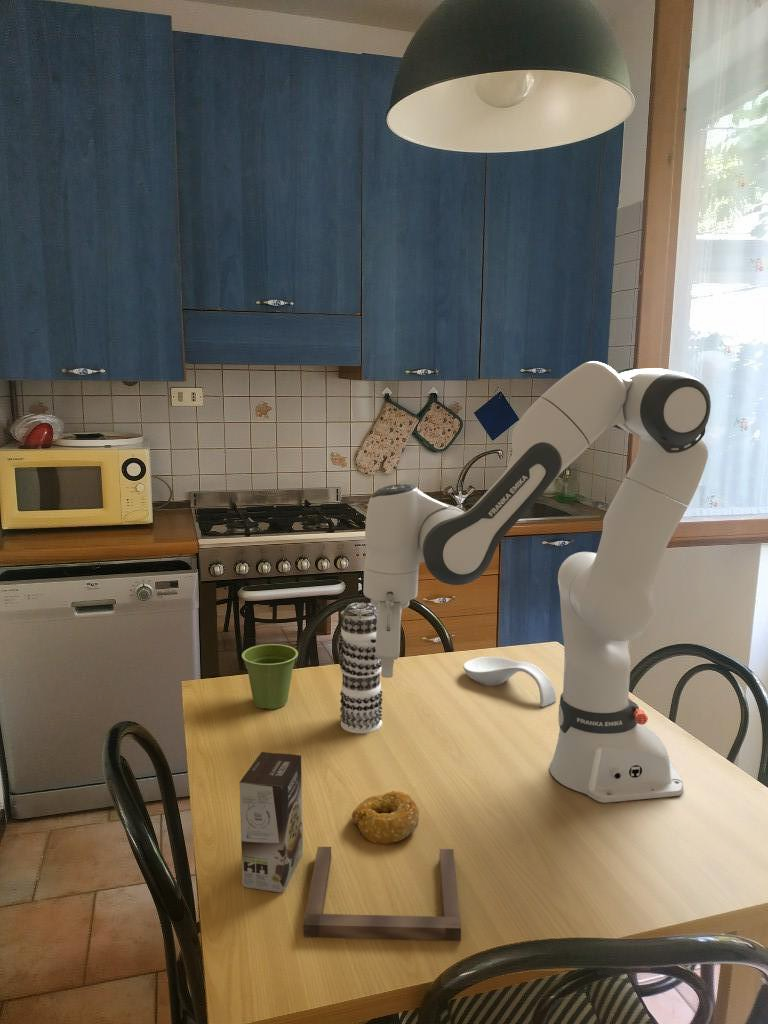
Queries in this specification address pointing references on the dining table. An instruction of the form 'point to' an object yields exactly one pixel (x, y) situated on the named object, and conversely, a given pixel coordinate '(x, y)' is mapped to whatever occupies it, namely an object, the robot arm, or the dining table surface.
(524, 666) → the spoon rest
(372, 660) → the decorative candle
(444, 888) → the brown u-shaped frame
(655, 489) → the robot arm
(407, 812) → the bagel
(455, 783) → the dining table surface
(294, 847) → the coffee box
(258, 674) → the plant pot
